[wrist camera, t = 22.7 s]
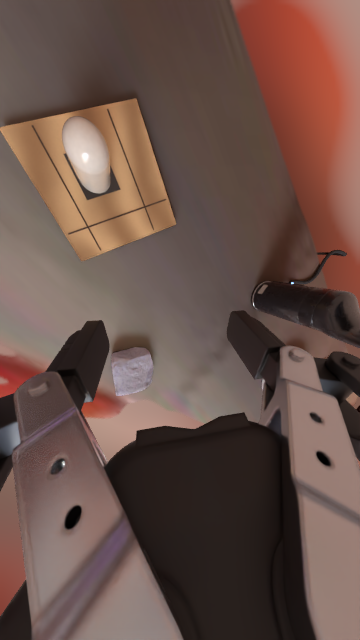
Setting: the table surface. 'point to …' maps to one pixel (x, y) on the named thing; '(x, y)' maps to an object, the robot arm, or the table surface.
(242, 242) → the table surface
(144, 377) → the stone block
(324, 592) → the robot arm
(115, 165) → the game board
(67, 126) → the beige rounded cylinder
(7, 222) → the table surface
